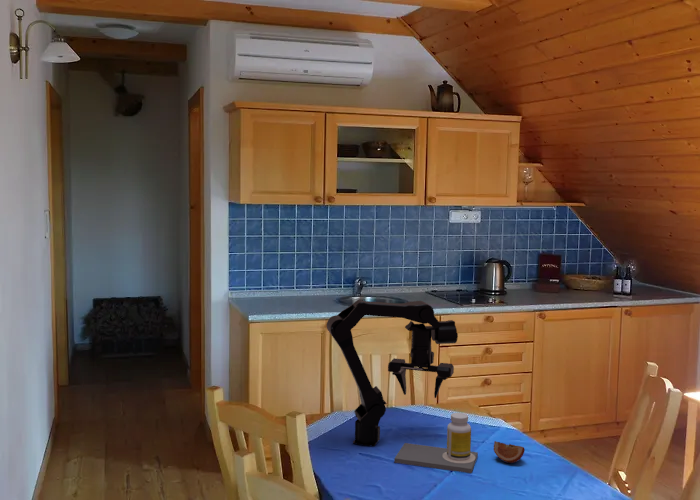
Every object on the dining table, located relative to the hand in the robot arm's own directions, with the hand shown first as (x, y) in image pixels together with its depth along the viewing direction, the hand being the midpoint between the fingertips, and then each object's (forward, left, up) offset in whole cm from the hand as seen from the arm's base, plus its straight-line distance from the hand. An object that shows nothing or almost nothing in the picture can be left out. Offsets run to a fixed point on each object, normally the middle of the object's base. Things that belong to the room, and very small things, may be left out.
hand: (420, 396), depth 214 cm
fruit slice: (+27, -8, -13) cm, 31 cm away
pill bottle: (+14, -13, -12) cm, 22 cm away
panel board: (+8, -14, -13) cm, 21 cm away
